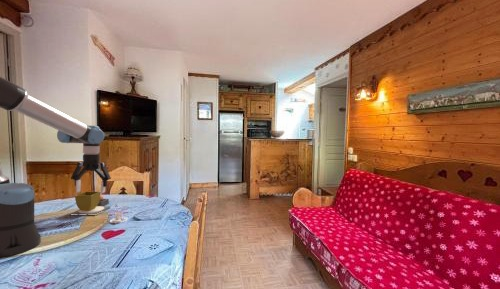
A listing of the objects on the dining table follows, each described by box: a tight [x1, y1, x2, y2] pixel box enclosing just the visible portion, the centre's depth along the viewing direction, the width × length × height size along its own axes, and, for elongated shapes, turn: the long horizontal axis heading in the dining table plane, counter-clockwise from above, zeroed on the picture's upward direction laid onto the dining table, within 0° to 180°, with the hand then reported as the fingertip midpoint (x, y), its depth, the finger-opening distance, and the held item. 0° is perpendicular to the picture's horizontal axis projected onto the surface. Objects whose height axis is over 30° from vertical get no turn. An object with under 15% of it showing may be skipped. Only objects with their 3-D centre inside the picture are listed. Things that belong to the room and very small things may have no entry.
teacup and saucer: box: [109, 211, 129, 224], centre depth 116 cm, size 9×8×4 cm
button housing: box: [97, 198, 109, 206], centre depth 140 cm, size 7×7×3 cm
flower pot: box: [74, 191, 102, 211], centre depth 128 cm, size 9×9×9 cm
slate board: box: [70, 205, 111, 215], centre depth 129 cm, size 13×13×1 cm
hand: (90, 192), depth 128 cm, fingers open, 13 cm apart
